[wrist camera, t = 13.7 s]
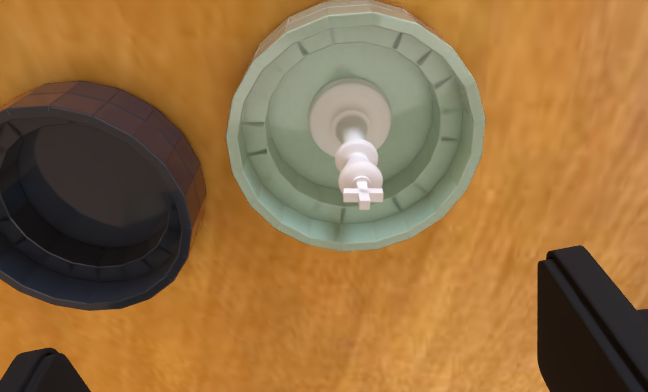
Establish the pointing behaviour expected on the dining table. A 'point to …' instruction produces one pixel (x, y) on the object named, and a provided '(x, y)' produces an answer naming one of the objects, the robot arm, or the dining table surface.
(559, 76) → the dining table surface
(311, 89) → the green bowl
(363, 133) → the chess piece
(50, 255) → the dark bowl
